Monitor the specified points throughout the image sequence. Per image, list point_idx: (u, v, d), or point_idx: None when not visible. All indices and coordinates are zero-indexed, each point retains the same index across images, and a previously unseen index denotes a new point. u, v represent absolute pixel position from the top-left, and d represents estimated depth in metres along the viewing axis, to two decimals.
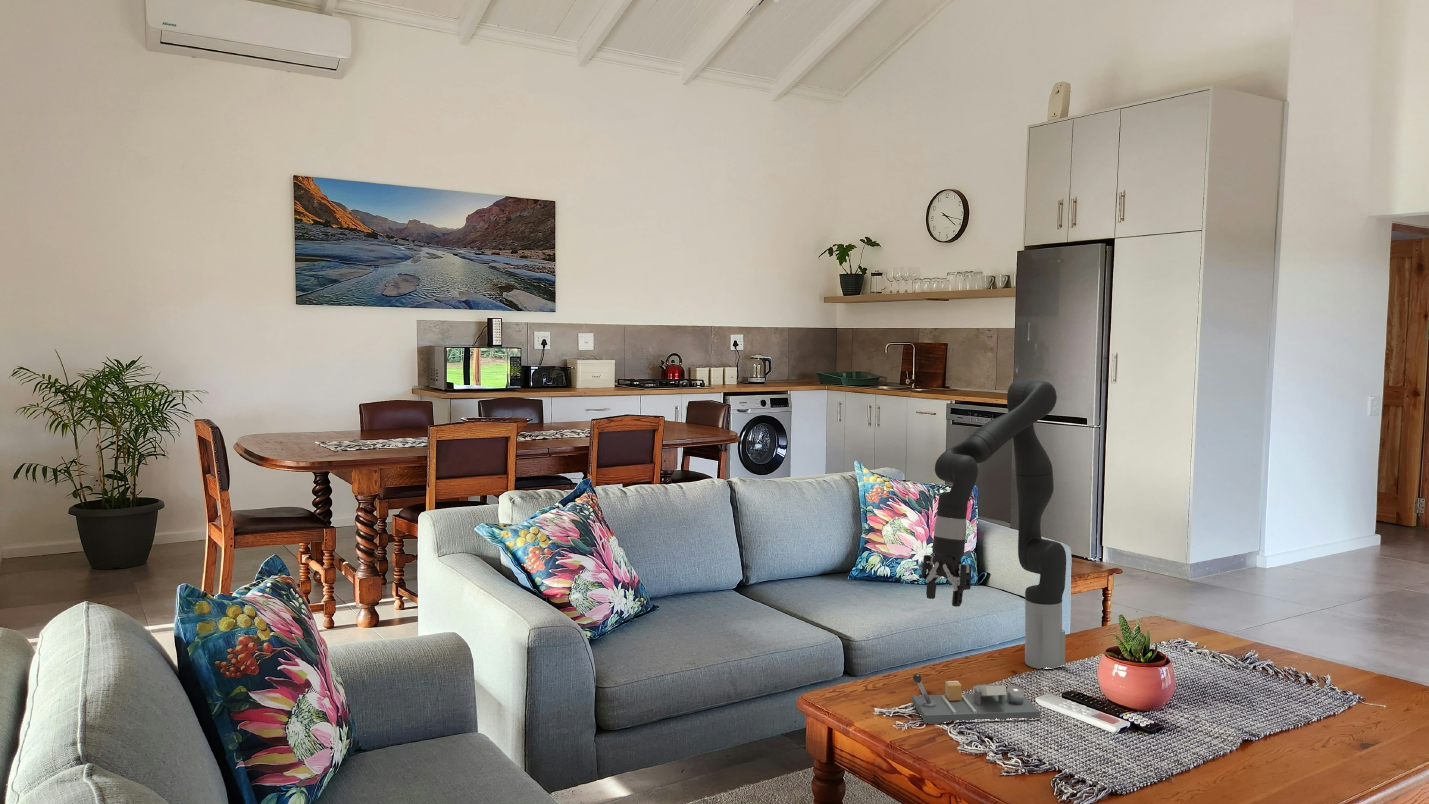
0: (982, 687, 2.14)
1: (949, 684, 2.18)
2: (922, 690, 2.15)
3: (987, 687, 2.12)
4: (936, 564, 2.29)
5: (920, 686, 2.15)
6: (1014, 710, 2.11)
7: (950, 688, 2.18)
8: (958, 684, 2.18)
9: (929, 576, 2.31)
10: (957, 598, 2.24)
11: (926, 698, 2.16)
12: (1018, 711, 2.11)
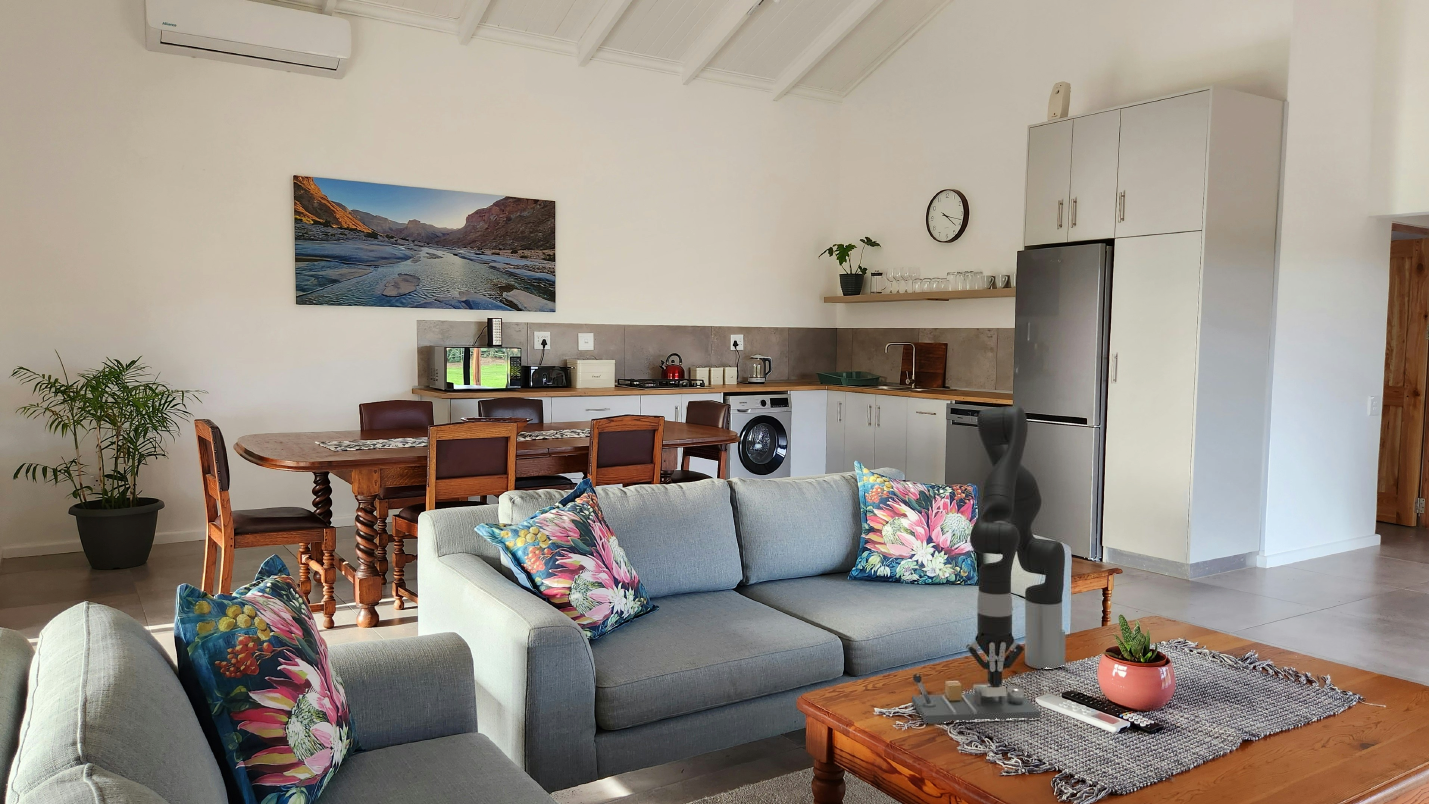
0: (982, 688, 2.14)
1: (949, 684, 2.18)
2: (922, 690, 2.15)
3: (987, 688, 2.12)
4: (991, 645, 2.10)
5: (920, 686, 2.15)
6: (1014, 710, 2.11)
7: (950, 688, 2.18)
8: (958, 684, 2.18)
9: (995, 664, 2.11)
10: (1000, 678, 2.12)
11: (926, 698, 2.16)
12: (1018, 711, 2.11)
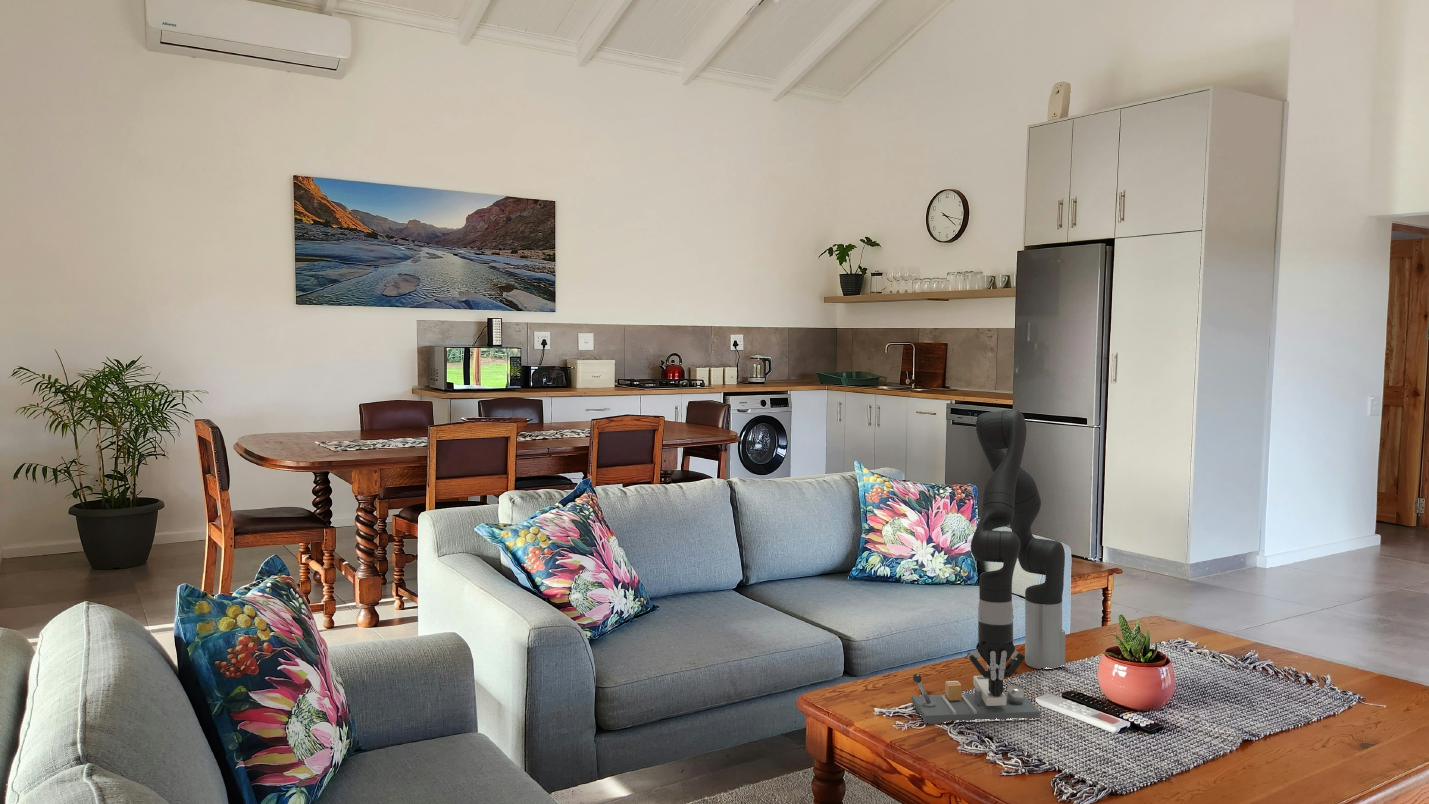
0: (983, 692, 2.14)
1: (949, 684, 2.18)
2: (922, 690, 2.15)
3: (988, 698, 2.11)
4: (992, 654, 2.10)
5: (920, 686, 2.15)
6: (1014, 710, 2.11)
7: (950, 688, 2.18)
8: (958, 684, 2.18)
9: (996, 672, 2.10)
10: (1001, 687, 2.11)
11: (926, 698, 2.16)
12: (1018, 711, 2.11)
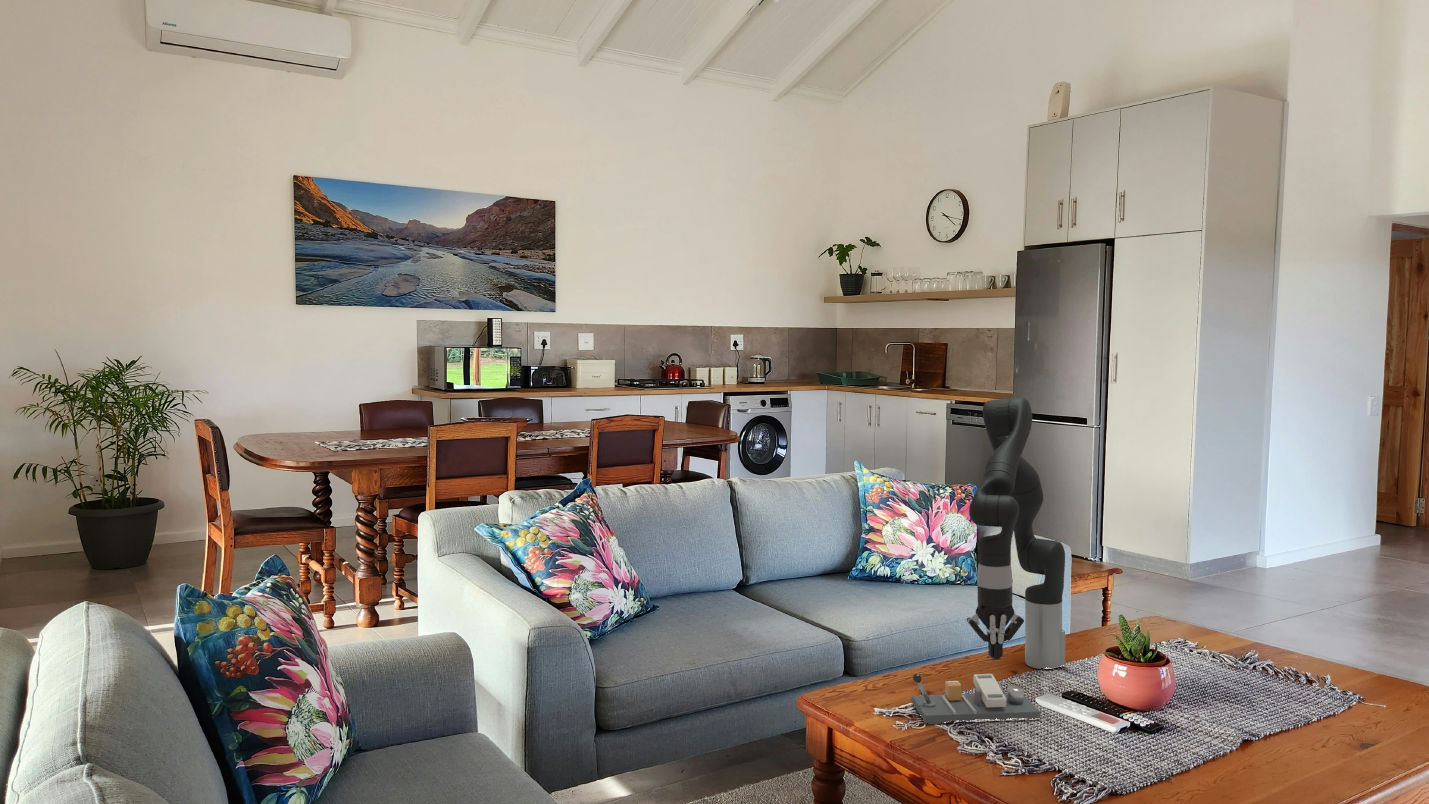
0: (983, 693, 2.14)
1: (949, 684, 2.18)
2: (922, 690, 2.15)
3: (988, 700, 2.11)
4: (991, 618, 2.10)
5: (920, 686, 2.15)
6: (1014, 710, 2.11)
7: (950, 688, 2.18)
8: (958, 684, 2.18)
9: (995, 636, 2.11)
10: (1001, 650, 2.12)
11: (926, 698, 2.16)
12: (1018, 711, 2.11)
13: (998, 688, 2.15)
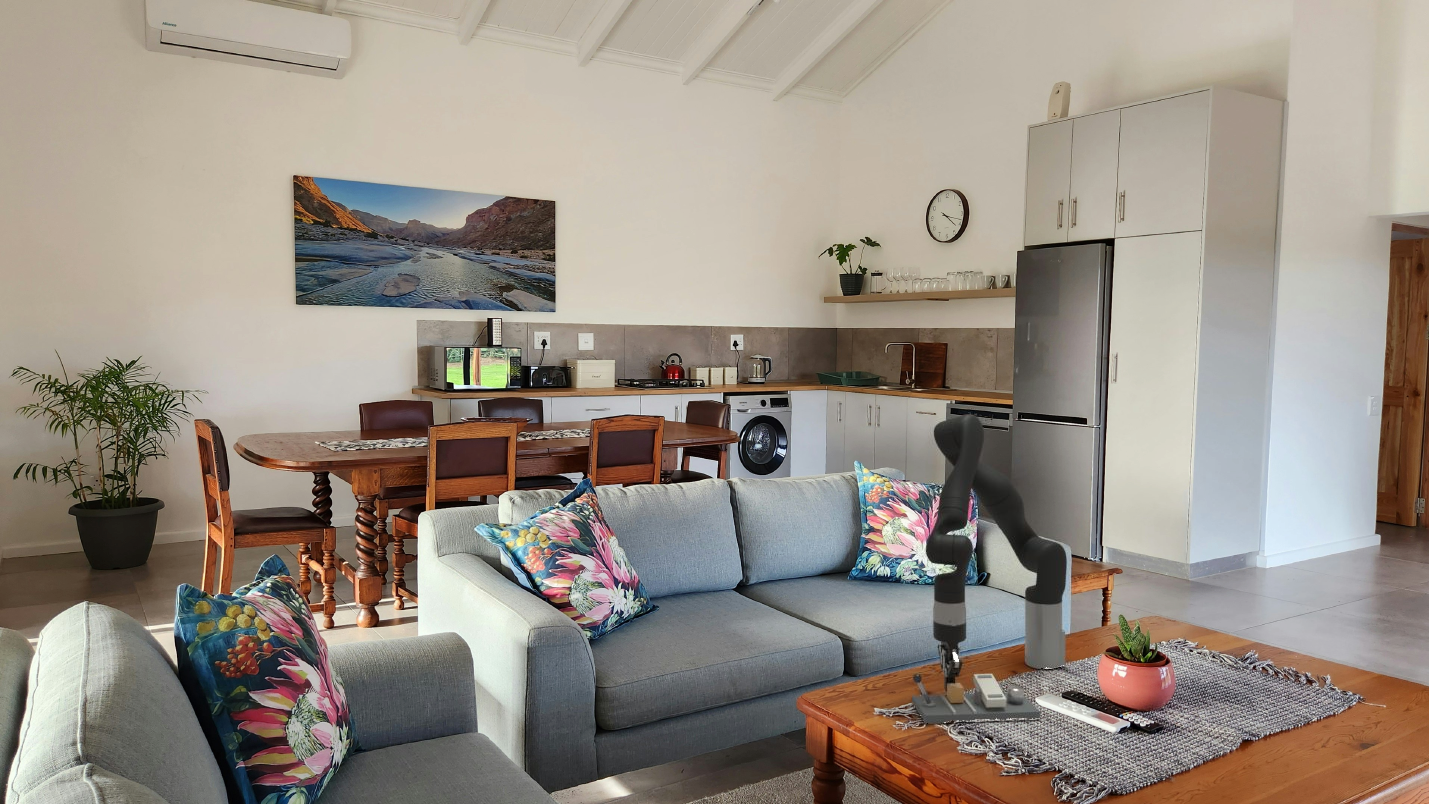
0: (983, 693, 2.14)
1: (951, 686, 2.17)
2: (922, 690, 2.15)
3: (988, 700, 2.11)
4: None
5: (920, 686, 2.15)
6: (1014, 710, 2.11)
7: (952, 690, 2.16)
8: (960, 686, 2.17)
9: None
10: None
11: (926, 698, 2.16)
12: (1018, 711, 2.11)
13: (998, 688, 2.15)
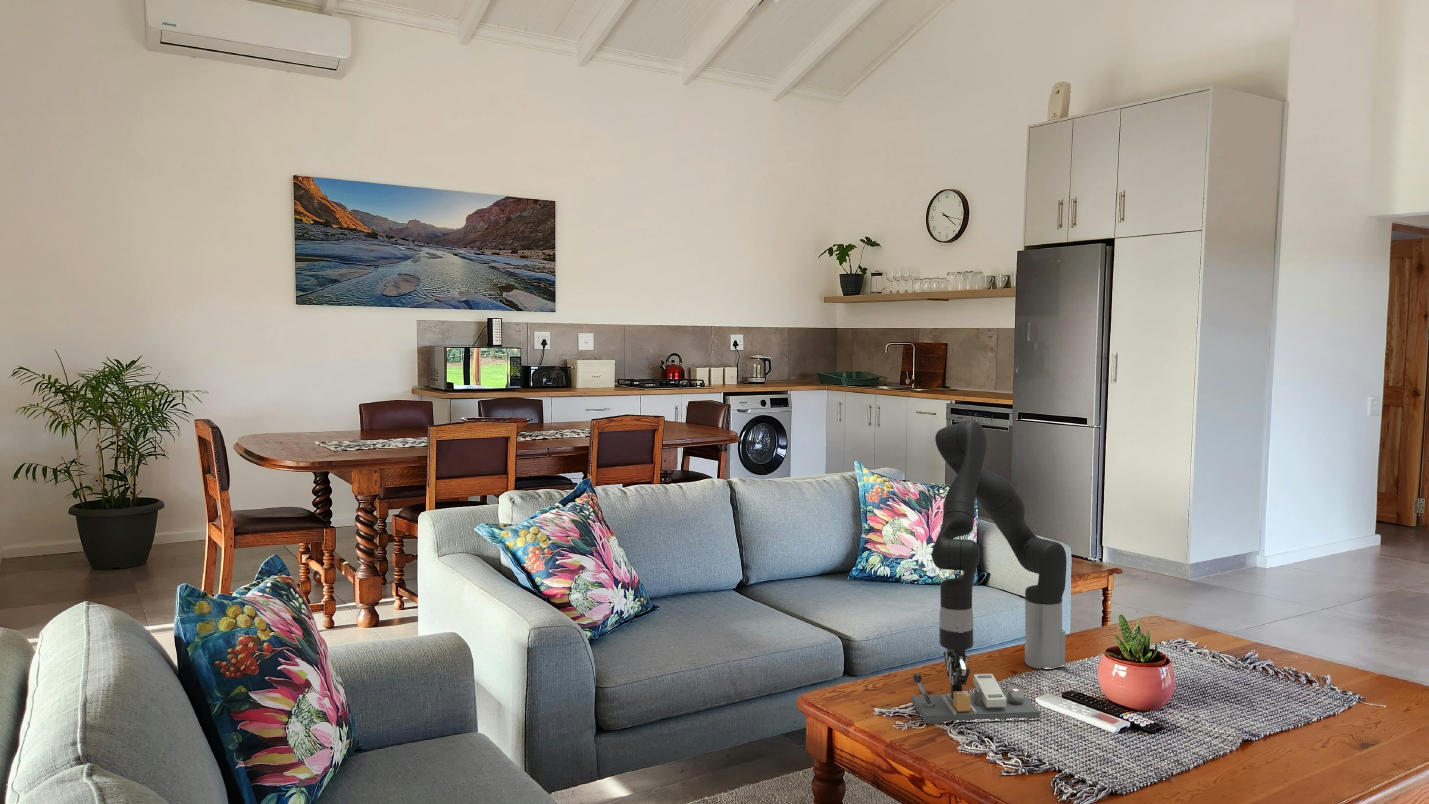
0: (983, 693, 2.14)
1: (957, 694, 2.12)
2: (922, 690, 2.15)
3: (988, 700, 2.11)
4: None
5: (920, 686, 2.15)
6: (1014, 710, 2.11)
7: (958, 699, 2.11)
8: (967, 694, 2.12)
9: None
10: None
11: (926, 698, 2.16)
12: (1018, 711, 2.11)
13: (998, 688, 2.15)
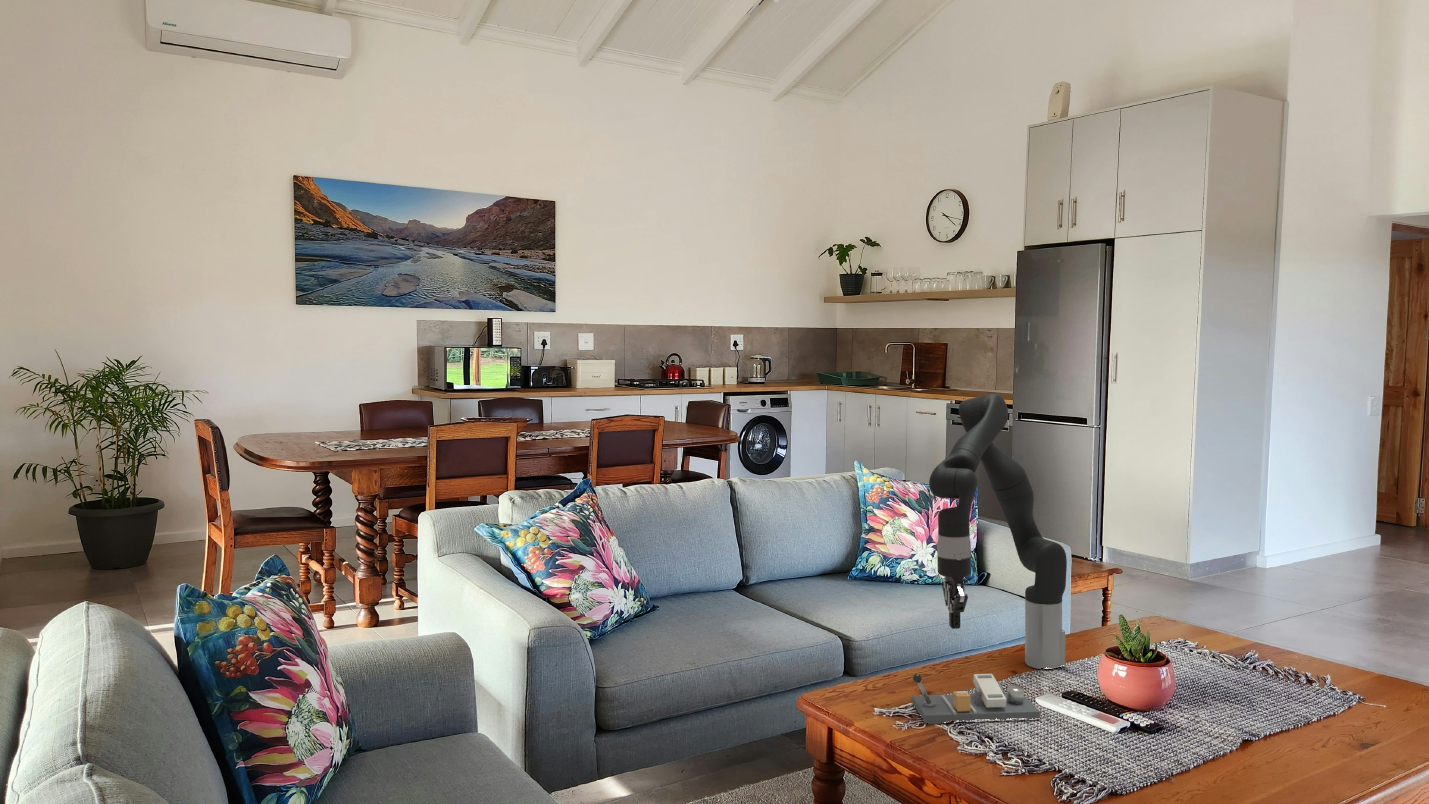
0: (983, 693, 2.14)
1: (957, 694, 2.12)
2: (922, 690, 2.15)
3: (988, 700, 2.11)
4: None
5: (920, 686, 2.15)
6: (1014, 710, 2.11)
7: (958, 699, 2.11)
8: (967, 694, 2.12)
9: None
10: None
11: (926, 698, 2.16)
12: (1018, 711, 2.11)
13: (998, 688, 2.15)
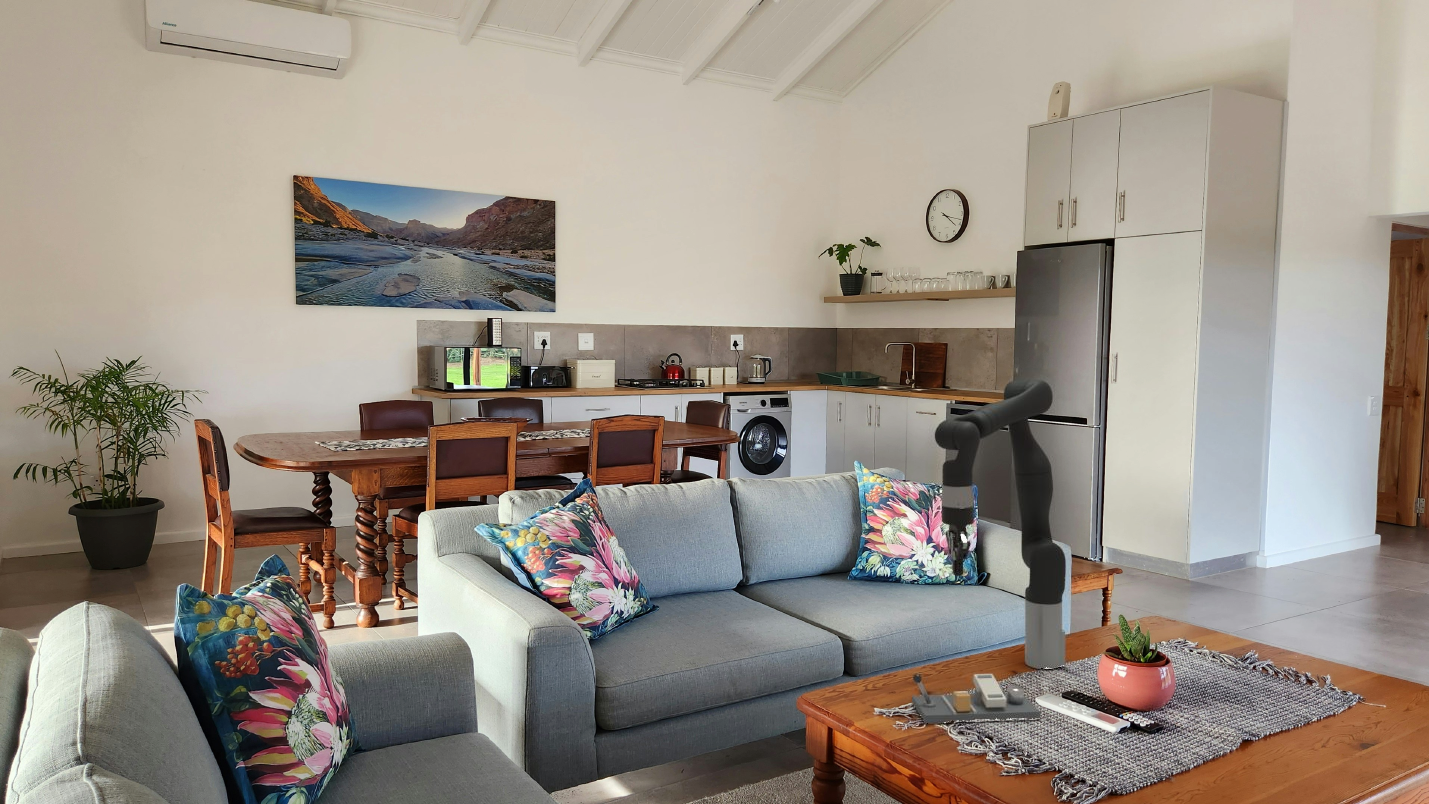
0: (983, 693, 2.14)
1: (957, 694, 2.12)
2: (922, 690, 2.15)
3: (988, 700, 2.11)
4: None
5: (920, 686, 2.15)
6: (1014, 710, 2.11)
7: (958, 699, 2.11)
8: (967, 694, 2.12)
9: None
10: None
11: (926, 698, 2.16)
12: (1018, 711, 2.11)
13: (998, 688, 2.15)
